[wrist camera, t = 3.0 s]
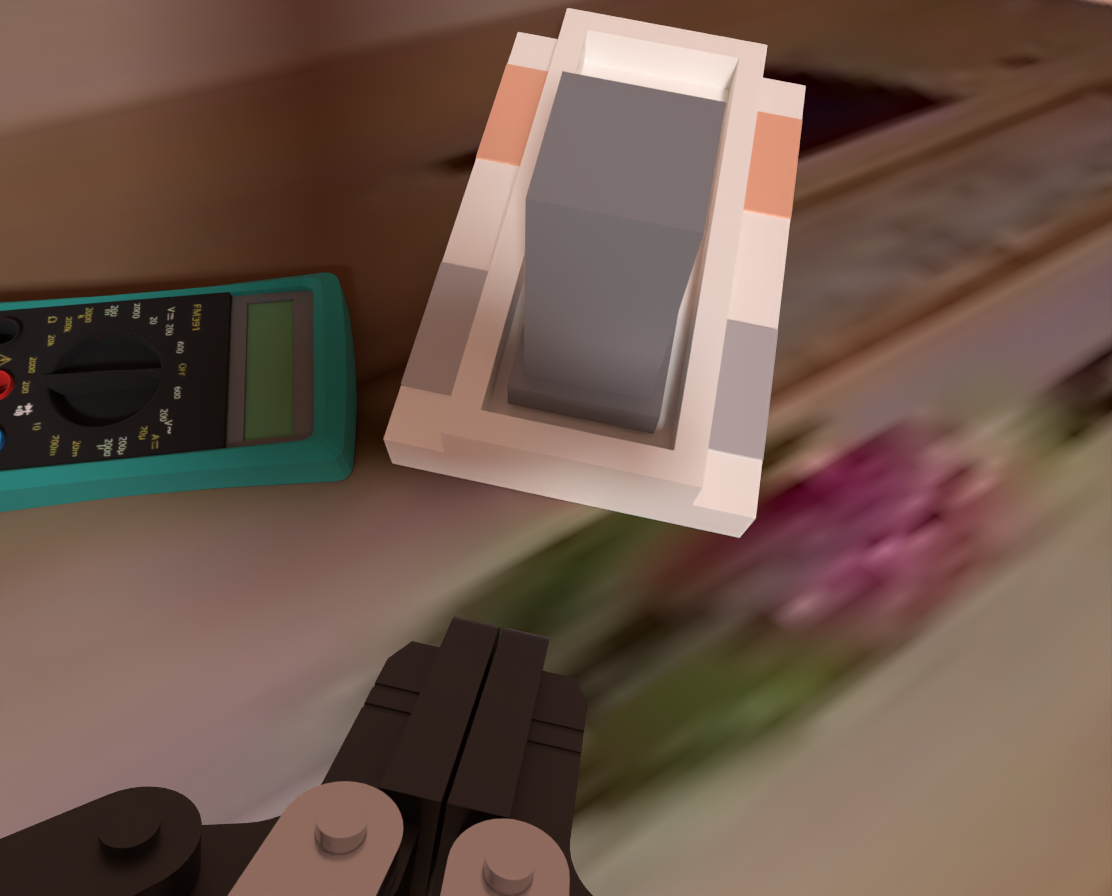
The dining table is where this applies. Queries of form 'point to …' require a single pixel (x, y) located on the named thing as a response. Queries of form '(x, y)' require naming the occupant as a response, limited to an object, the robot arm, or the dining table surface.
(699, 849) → the dining table surface
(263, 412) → the digital multimeter
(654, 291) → the slider tab
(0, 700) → the dining table surface
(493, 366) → the switch housing
